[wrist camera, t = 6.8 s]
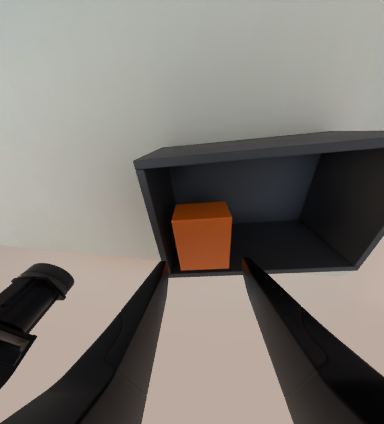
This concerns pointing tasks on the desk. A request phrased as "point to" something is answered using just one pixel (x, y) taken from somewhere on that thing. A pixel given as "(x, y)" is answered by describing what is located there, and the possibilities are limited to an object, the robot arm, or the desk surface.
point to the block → (202, 235)
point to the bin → (275, 198)
